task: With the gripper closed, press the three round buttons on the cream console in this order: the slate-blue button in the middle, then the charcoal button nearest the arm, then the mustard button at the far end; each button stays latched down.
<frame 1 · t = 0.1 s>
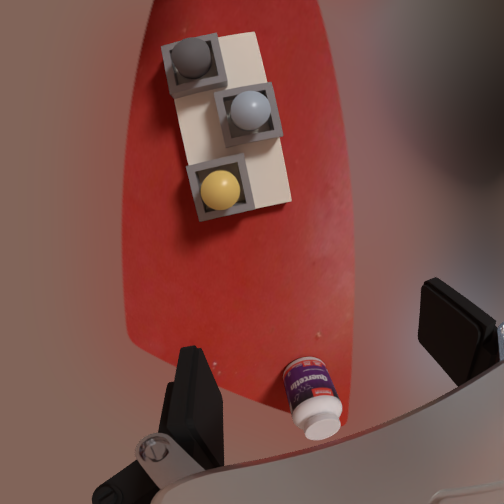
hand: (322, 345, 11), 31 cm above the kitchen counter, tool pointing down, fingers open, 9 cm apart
pill bottle: (303, 370, 51), on the kitchen counter
mustard button: (220, 188, 33), point 6 cm above the kitchen counter, slide at 0.0 cm
console: (227, 122, 36), on the kitchen counter
charcoal button: (192, 58, 28), point 6 cm above the kitchen counter, slide at 0.0 cm
slate button: (249, 111, 30), point 6 cm above the kitchen counter, slide at 0.0 cm
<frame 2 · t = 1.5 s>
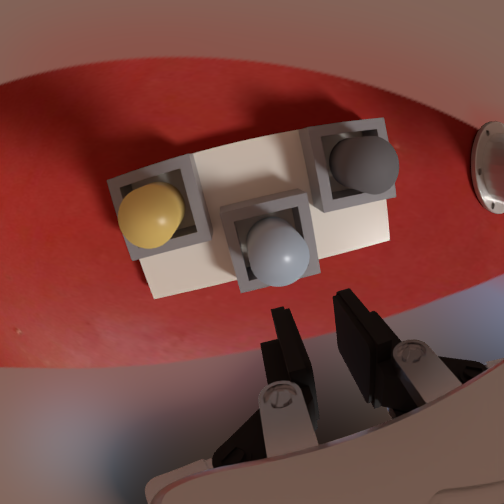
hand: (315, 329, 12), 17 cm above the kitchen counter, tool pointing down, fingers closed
mustard button: (153, 212, 21), point 6 cm above the kitchen counter, slide at 0.0 cm
console: (259, 203, 27), on the kitchen counter
charcoal button: (362, 163, 21), point 6 cm above the kitchen counter, slide at 0.0 cm
slate button: (275, 249, 22), point 6 cm above the kitchen counter, slide at 0.0 cm
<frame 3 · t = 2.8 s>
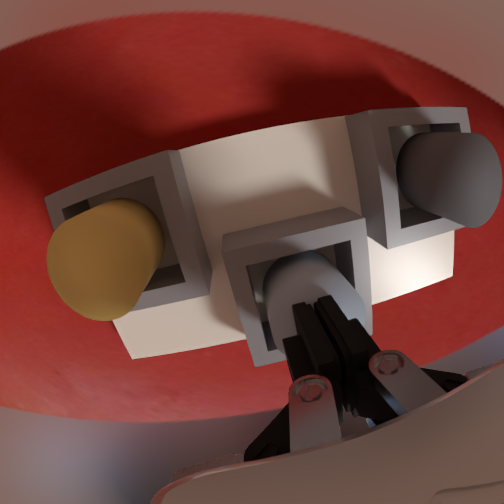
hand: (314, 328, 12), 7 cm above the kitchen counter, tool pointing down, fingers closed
mustard button: (109, 253, 12), point 6 cm above the kitchen counter, slide at 0.0 cm
console: (281, 227, 18), on the kitchen counter
charcoal button: (449, 175, 11), point 6 cm above the kitchen counter, slide at 0.0 cm
slate button: (309, 304, 14), point 5 cm above the kitchen counter, slide at 0.9 cm, touching gripper
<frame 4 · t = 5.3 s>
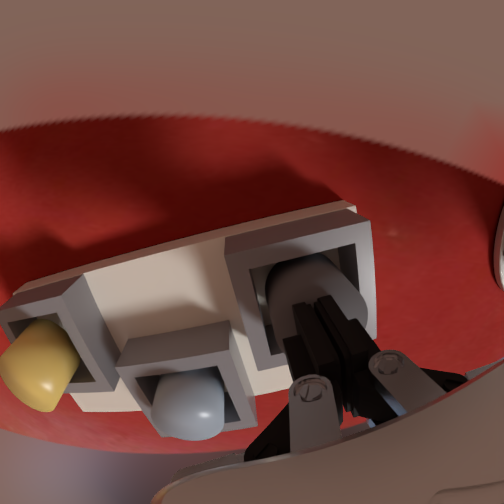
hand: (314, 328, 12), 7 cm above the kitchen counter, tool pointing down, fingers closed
mustard button: (39, 365, 13), point 6 cm above the kitchen counter, slide at 0.0 cm
console: (184, 325, 20), on the kitchen counter
charcoal button: (312, 304, 14), point 5 cm above the kitchen counter, slide at 1.2 cm
slate button: (189, 396, 16), point 5 cm above the kitchen counter, slide at 1.8 cm
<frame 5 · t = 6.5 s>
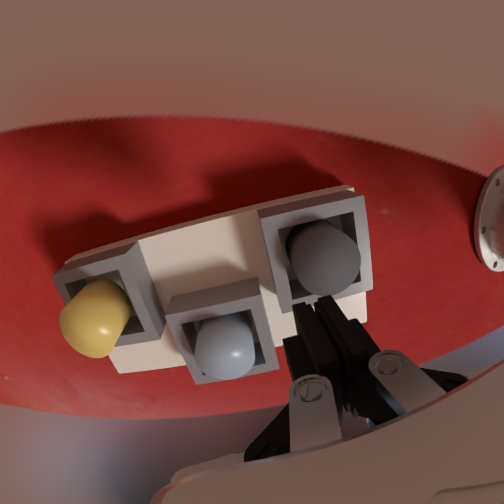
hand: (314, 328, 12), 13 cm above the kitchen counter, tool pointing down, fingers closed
mustard button: (96, 317, 18), point 6 cm above the kitchen counter, slide at 0.0 cm
console: (218, 286, 25), on the kitchen counter
charcoal button: (321, 254, 20), point 5 cm above the kitchen counter, slide at 1.8 cm
slate button: (224, 341, 21), point 5 cm above the kitchen counter, slide at 1.8 cm
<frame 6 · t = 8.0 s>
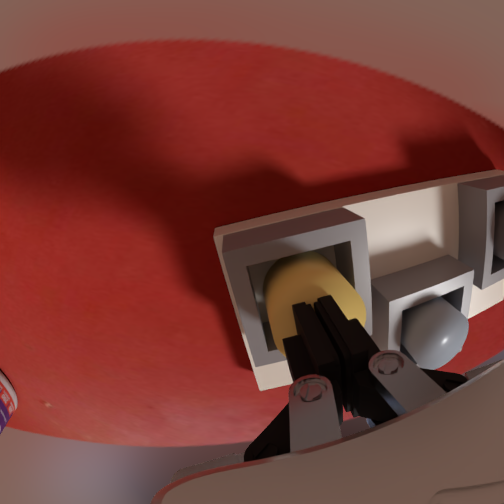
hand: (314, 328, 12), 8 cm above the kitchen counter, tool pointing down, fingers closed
mustard button: (310, 304, 14), point 5 cm above the kitchen counter, slide at 0.9 cm, touching gripper
console: (398, 268, 20), on the kitchen counter
slate button: (428, 327, 16), point 5 cm above the kitchen counter, slide at 1.8 cm
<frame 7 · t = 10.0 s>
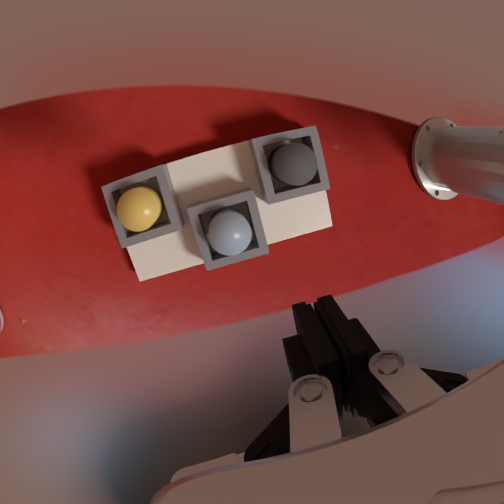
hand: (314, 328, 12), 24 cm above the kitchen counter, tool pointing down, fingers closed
mustard button: (141, 207, 29), point 5 cm above the kitchen counter, slide at 1.7 cm
console: (220, 201, 34), on the kitchen counter
charcoal button: (291, 164, 29), point 5 cm above the kitchen counter, slide at 1.8 cm
slate button: (228, 230, 31), point 5 cm above the kitchen counter, slide at 1.8 cm
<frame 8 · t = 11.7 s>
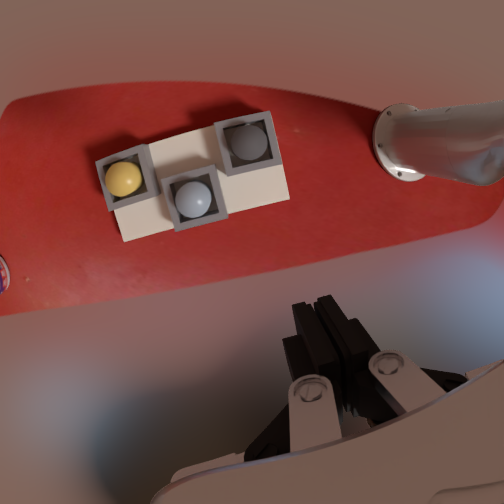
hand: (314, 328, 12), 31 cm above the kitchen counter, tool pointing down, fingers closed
mustard button: (125, 178, 34), point 5 cm above the kitchen counter, slide at 1.7 cm
console: (193, 176, 39), on the kitchen counter
charcoal button: (248, 143, 34), point 5 cm above the kitchen counter, slide at 1.8 cm
slate button: (194, 197, 36), point 5 cm above the kitchen counter, slide at 1.8 cm
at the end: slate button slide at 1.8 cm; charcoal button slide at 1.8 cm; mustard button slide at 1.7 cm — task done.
